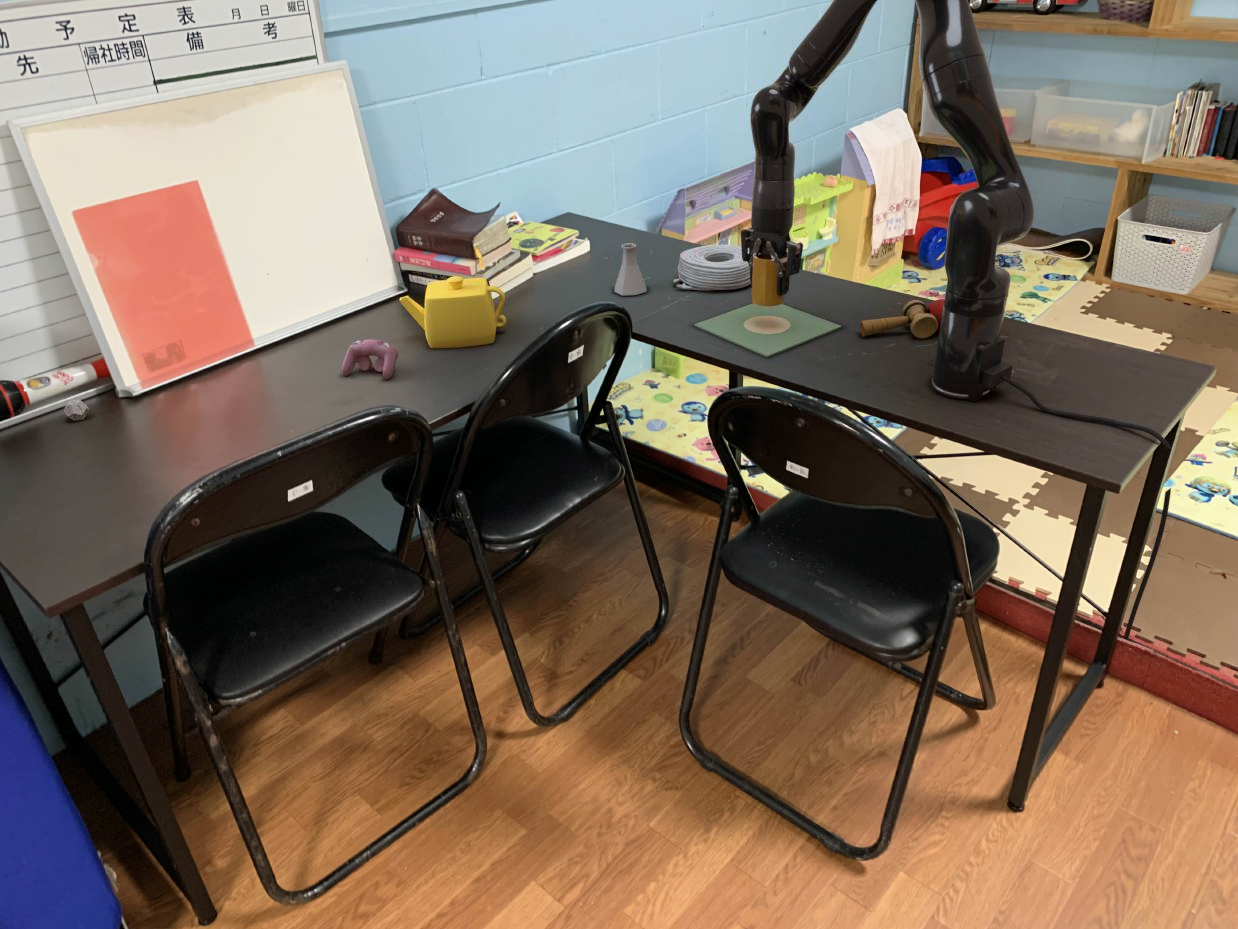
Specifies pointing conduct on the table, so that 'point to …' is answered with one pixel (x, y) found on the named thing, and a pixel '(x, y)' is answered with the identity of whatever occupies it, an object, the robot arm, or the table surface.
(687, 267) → the cable
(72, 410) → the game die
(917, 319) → the kendama
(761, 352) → the mat
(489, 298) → the teapot
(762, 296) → the cup
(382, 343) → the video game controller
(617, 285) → the flask
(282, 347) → the table surface
